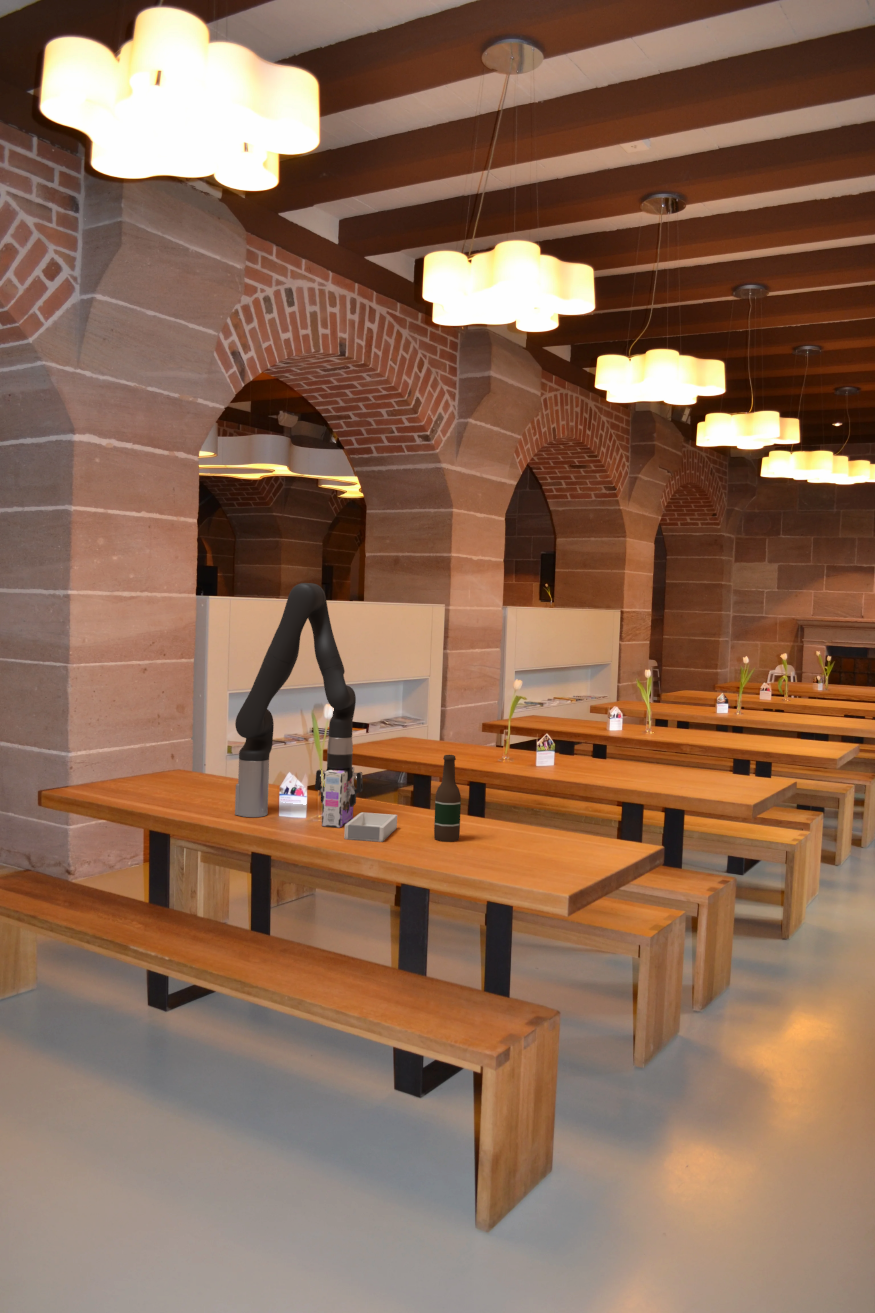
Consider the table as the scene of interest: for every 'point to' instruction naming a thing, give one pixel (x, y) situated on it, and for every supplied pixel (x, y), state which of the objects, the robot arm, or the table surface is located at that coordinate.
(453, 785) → the beer bottle
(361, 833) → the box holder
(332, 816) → the candy box
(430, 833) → the table surface
